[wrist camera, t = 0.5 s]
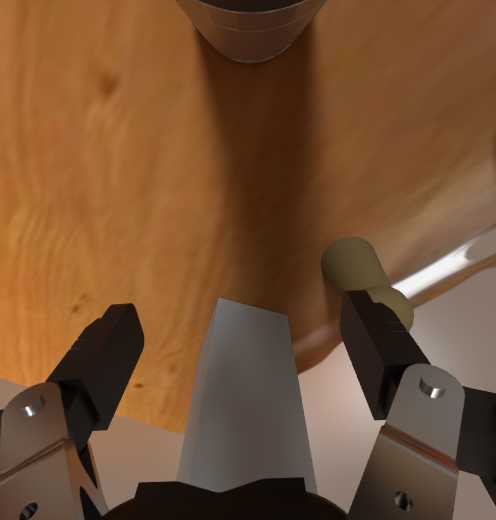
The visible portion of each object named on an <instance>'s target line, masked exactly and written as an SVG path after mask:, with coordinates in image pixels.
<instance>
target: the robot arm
mask: <svg viewBox="0 0 496 520" xmlns="http://www.w3.org/2000/svg"><path fill="white" fill-rule="evenodd" d="M176 2H177V3H178V4H179V6H180V7H181V8H182V9H183V11H184V12H185V13H186V15H187V16H188V17H189V18H190V20H191V21H192V22H193V24H194V25H195V26H196V27H197V29H198V30H199V31H200V33H201V34H202V35H203V36H204V38H205V39H206V40H207V41H208V42H209V43H210V45H211V46H212V47H213V48H214V49H215V50H216V51H217V52H219V53H220V54H222V55H223V56H225V57H226V58H228V59H230V60H233V61H236V62H238V63H245V64H255V63H263V62H265V61H268V60H270V59H273V58H275V57H276V56H278V55H279V54H281V53H282V52H283V51H285V50H286V49H287V48H288V47H289V46H290V45H291V43H292V42H293V41H294V40H295V39H296V38H297V37H298V35H299V34H300V33H301V32H302V31H303V30H304V28H305V27H306V26H307V25H308V23H309V22H310V21H311V20H312V19H313V17H314V16H315V15H316V14H317V13H318V11H319V10H320V9H321V8H322V6H323V5H324V4H325V3H326V2H327V0H176ZM340 329H341V336H342V339H343V342H344V344H345V347H346V350H347V352H348V355H349V357H350V360H351V362H352V365H353V368H354V370H355V373H356V375H357V378H358V380H359V383H360V385H361V388H362V390H363V393H364V395H365V398H366V401H367V403H368V405H369V408H370V410H371V413H372V416H373V418H374V420H386V422H385V425H384V426H382V427H381V429H380V431H379V434H378V436H377V439H376V442H375V444H374V447H373V450H372V452H371V455H370V457H369V460H368V463H367V465H366V468H365V471H364V473H363V476H362V479H361V481H360V484H359V487H358V489H357V492H356V494H355V497H354V500H353V502H352V505H351V508H350V510H349V513H348V514H347V513H346V512H345V511H344V510H342V509H341V508H340V507H338V506H337V505H336V504H334V503H332V502H331V501H329V500H327V499H326V498H324V497H321V496H319V495H317V494H315V493H311V492H308V491H306V487H305V480H304V477H292V478H263V479H260V480H257V481H254V482H251V483H248V484H245V485H242V486H239V487H236V488H233V489H230V490H227V491H224V492H214V491H210V490H207V489H203V488H200V487H197V486H193V485H190V484H186V483H183V482H179V481H173V482H172V481H171V482H142V483H139V484H138V487H137V490H136V494H135V497H134V498H133V499H130V500H128V501H126V502H124V503H122V504H120V505H118V506H116V507H115V508H113V509H112V510H110V511H109V509H108V506H107V504H106V501H105V498H104V495H103V492H102V488H101V484H100V480H99V476H98V472H97V468H96V464H95V460H94V456H93V452H92V448H91V445H90V443H89V441H88V439H89V437H90V435H91V433H92V431H99V430H107V429H108V427H109V425H110V422H111V420H112V418H113V416H114V414H115V411H116V409H117V407H118V405H119V402H120V400H121V398H122V396H123V393H124V391H125V389H126V387H127V384H128V382H129V380H130V378H131V375H132V373H133V371H134V369H135V366H136V364H137V362H138V360H139V357H140V355H141V353H142V351H143V348H144V333H143V330H142V327H141V324H140V321H139V318H138V314H137V311H136V308H135V306H134V305H133V304H132V303H129V304H113V305H111V306H110V307H109V308H108V309H107V311H106V312H105V313H104V315H103V316H102V318H98V319H96V320H95V321H94V322H93V323H91V324H90V325H89V326H87V327H86V328H85V329H84V331H83V332H82V333H81V335H80V336H79V337H78V340H77V341H75V343H74V344H73V345H72V347H71V350H69V351H68V352H67V353H66V355H65V356H64V357H63V359H62V360H61V361H60V363H59V364H58V365H57V367H56V368H55V369H54V371H53V372H52V373H51V375H50V376H49V377H48V379H47V380H46V381H45V382H44V383H39V384H36V385H33V386H31V387H29V388H27V389H25V390H24V391H22V392H21V393H19V394H18V395H16V396H15V397H14V398H13V399H12V400H11V401H10V402H9V403H8V405H7V406H6V407H5V409H2V410H0V520H452V519H453V512H454V505H455V497H456V490H457V482H458V474H459V470H461V471H464V472H468V473H471V474H475V475H478V476H479V477H480V479H481V480H482V482H483V484H484V486H485V488H486V489H487V491H488V493H489V495H490V497H491V498H492V500H493V502H494V504H495V506H496V393H491V392H487V391H482V390H477V389H472V388H468V387H464V386H462V385H461V384H460V382H458V380H457V379H456V378H455V377H454V376H453V375H451V374H450V373H448V372H447V371H445V370H443V369H441V368H439V367H436V366H433V365H431V363H430V362H429V361H428V359H427V358H426V356H425V355H424V354H423V352H422V351H421V349H420V348H419V346H418V345H417V343H416V342H415V341H414V339H413V338H412V336H411V335H410V333H409V332H407V329H406V328H405V326H404V325H403V323H401V321H400V319H399V318H398V316H397V315H396V313H395V312H394V311H393V310H392V309H390V308H389V307H388V306H386V305H385V304H383V303H382V302H378V303H374V302H373V300H372V299H371V297H370V296H369V294H368V292H367V291H366V290H351V291H344V292H343V297H342V309H341V321H340Z"/></svg>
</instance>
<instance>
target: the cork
mask: <svg viewBox="0 0 496 520" xmlns="http://www.w3.org/2000/svg"><path fill="white" fill-rule="evenodd" d="M321 267H322V271H323V273H324V275H325V276H326V278H327V279H328V280H329V282H330V283H331V285H332V286H333V287H334V289H335V290H336V292H337V293H338V295H339V296H340V297H341V299H342V297H343V292H344V291H351V290H366V291H367V292H368V294H369V296H370V297H371V299H372V300H373V302H374V303H378V302H382V303H383V304H385V305H386V306H388V307H389V308H390V309H392V310H393V311H394V312H395V313H396V315H397V316H398V318H399V319H400V321H401V323H403V325H404V326H405V328H406V329H407V332H409V331H410V329H411V327H412V325H413V319H414V312H413V309H412V306H411V303H410V301H409V300H408V299H407V298H406V297H405V296H404V295H403V293H401V292H400V291H398V290H397V289H394V288H392V287H391V285H390V283H389V281H388V278H387V276H386V274H385V272H384V270H383V268H382V266H381V263H380V261H379V259H378V257H377V255H376V253H375V251H374V249H373V247H372V246H371V245H370V244H369V242H367V241H365V240H363V239H361V238H355V237H350V238H343V239H341V240H339V241H336V242H335V243H333V244H332V245H331V246H330V247H328V249H327V250H326V251H325V253H324V254H323V257H322V261H321Z"/></svg>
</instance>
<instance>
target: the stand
mask: <svg viewBox="0 0 496 520" xmlns="http://www.w3.org/2000/svg"><path fill="white" fill-rule="evenodd" d="M292 477H304V480H305V487H306V491H308V492H311V493H315V494H317V487H316V482H315V475H314V470H313V464H312V458H311V452H310V447H309V441H308V434H307V428H306V422H305V417H304V411H303V405H302V399H301V393H300V387H299V382H298V375H297V369H296V363H295V358H294V352H293V346H292V340H291V334H290V328H289V322H288V316H287V315H284V314H280V313H276V312H273V311H269V310H265V309H261V308H257V307H253V306H249V305H246V304H242V303H238V302H234V301H230V300H226V299H223V298H219V297H218V300H217V303H216V306H215V309H214V312H213V315H212V318H211V321H210V324H209V327H208V330H207V333H206V336H205V339H204V342H203V345H202V348H201V353H200V358H199V363H198V368H197V374H196V379H195V384H194V389H193V395H192V400H191V405H190V410H189V416H188V421H187V426H186V431H185V437H184V442H183V447H182V452H181V458H180V463H179V468H178V474H177V479H176V481H179V482H183V483H186V484H190V485H193V486H197V487H200V488H203V489H207V490H210V491H214V492H224V491H227V490H230V489H233V488H236V487H239V486H242V485H245V484H248V483H251V482H254V481H257V480H260V479H263V478H292ZM317 495H318V494H317Z"/></svg>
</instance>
